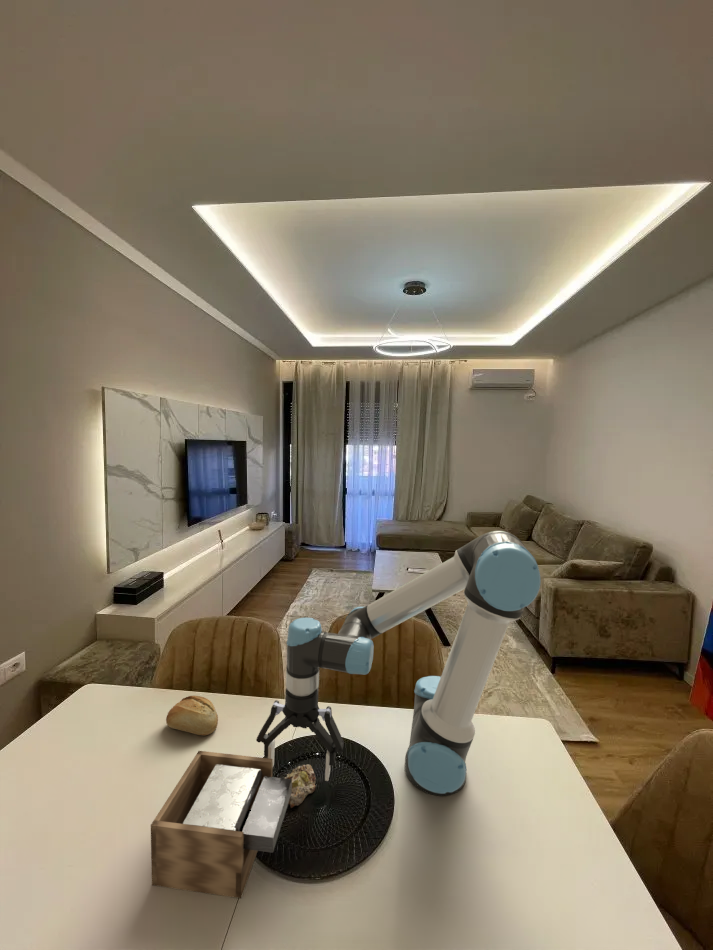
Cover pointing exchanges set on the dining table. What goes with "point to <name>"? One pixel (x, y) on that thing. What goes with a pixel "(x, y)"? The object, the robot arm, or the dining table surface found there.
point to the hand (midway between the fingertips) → (299, 772)
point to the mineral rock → (301, 784)
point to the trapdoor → (243, 805)
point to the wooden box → (201, 835)
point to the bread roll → (193, 716)
